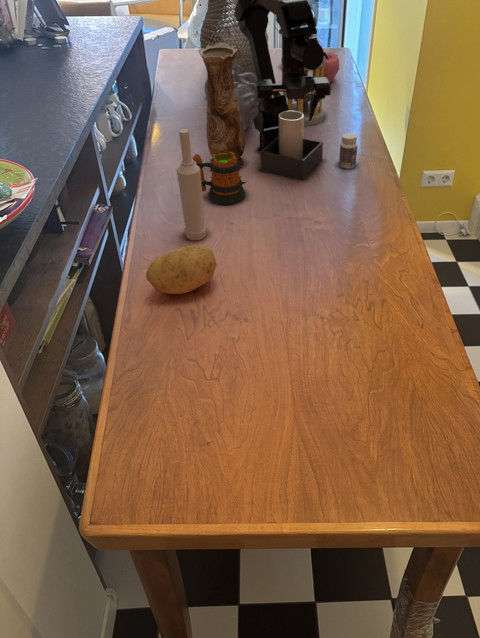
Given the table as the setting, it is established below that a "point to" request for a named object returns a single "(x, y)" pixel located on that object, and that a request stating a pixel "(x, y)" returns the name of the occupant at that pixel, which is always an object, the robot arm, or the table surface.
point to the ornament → (245, 96)
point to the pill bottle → (348, 151)
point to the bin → (292, 159)
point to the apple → (330, 66)
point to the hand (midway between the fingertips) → (292, 121)
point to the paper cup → (291, 134)
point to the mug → (223, 178)
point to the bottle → (190, 191)
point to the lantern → (303, 104)
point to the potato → (182, 269)
